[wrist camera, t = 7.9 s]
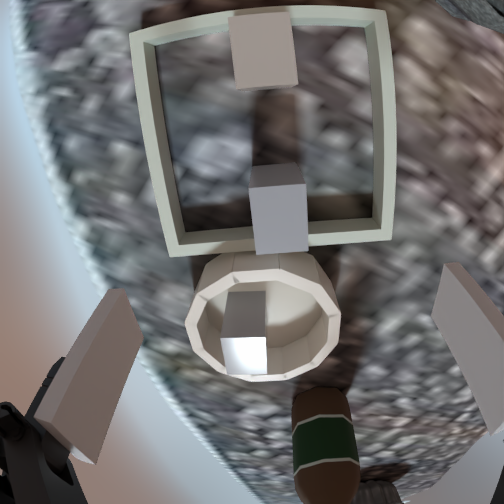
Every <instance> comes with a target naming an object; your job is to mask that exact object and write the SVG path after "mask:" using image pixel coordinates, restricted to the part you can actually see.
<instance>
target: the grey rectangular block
mask: <svg viewBox="0 0 504 504" xmlns="http://www.w3.org/2000/svg"><path fill="white" fill-rule="evenodd" d="M220 339H221V345H222V350H223V355H224V360H225V366H226V371H227V375H255V374H267V310H266V291H243V292H228V295H227V301H226V307H225V313H224V318H223V324H222V330H221V336H220Z"/></svg>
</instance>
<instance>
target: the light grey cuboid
mask: <svg viewBox="0 0 504 504" xmlns="http://www.w3.org/2000/svg"><path fill="white" fill-rule="evenodd" d="M248 189H249V197H250V206H251V215H252V223H253V232H254V240H255V249H256V255H262V254H275V253H288V252H301V251H309V250H308V217H307V193H306V183H305V180H304V178H303V176H302V174H301V172H300V170H299V168H298V165H297V163H283V164H270V165H259V166H252V170H251V176H250V182H249V188H248Z"/></svg>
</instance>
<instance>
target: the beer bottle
mask: <svg viewBox="0 0 504 504" xmlns="http://www.w3.org/2000/svg"><path fill="white" fill-rule="evenodd" d="M292 440H293V466H294V482H295V490H296V492H297V494H298V496H299V498H300V500H301V501H302V502H303V503H304V504H350V503H351V501H352V500H353V498H354V496H355V495H356V493H357V491H358V487H359V483H360V479H361V477H360V464H359V458H358V452H357V446H356V440H355V434H354V429H353V423H352V418H351V413H350V408H349V404H348V400H347V398H346V396H345V395H344V394H342V393H341V392H340V391H339V390H338V389H337V388H336V387H315V388H312V389H310V390H308V391H305V392H303V393H301V394H298V395H297V397H296V399H295V402H294V404H293V406H292Z"/></svg>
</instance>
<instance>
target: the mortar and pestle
mask: <svg viewBox="0 0 504 504" xmlns="http://www.w3.org/2000/svg"><path fill="white" fill-rule="evenodd" d="M436 2H437V3H438V4H440V5H441V6H442V7H443V8H444V9H445V10H446V11H447V12H449V13H450V14H451V15H452V16H454V17H457V18H461V19H464V20H467V21H472V22H474V23H476V24H478V25H481V26H484V27H486V28H489V29H492V30H495V31H497V32H500V33H503V34H504V0H436Z"/></svg>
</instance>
